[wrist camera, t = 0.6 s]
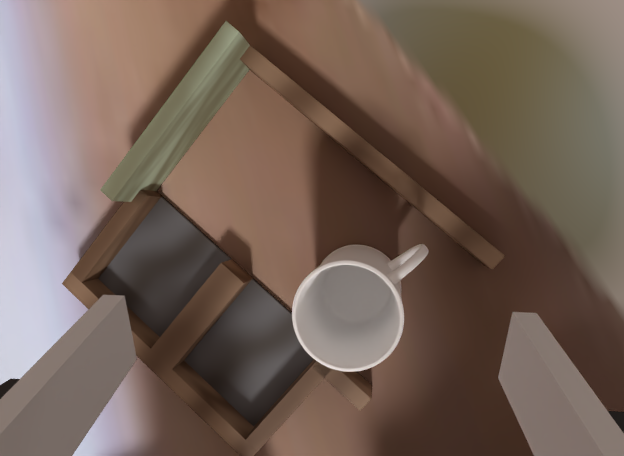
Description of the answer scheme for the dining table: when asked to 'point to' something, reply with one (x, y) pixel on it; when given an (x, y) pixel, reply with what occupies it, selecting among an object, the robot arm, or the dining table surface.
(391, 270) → the mug
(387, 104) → the dining table surface
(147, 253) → the wooden compartment tray
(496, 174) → the dining table surface
